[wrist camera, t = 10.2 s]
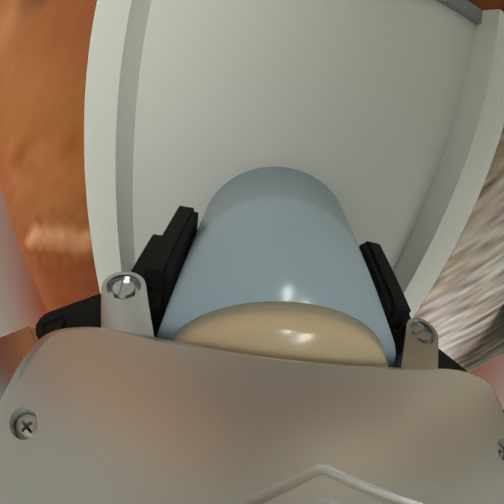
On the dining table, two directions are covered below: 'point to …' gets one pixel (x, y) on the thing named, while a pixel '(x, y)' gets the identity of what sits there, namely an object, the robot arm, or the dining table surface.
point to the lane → (294, 116)
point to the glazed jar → (279, 277)
